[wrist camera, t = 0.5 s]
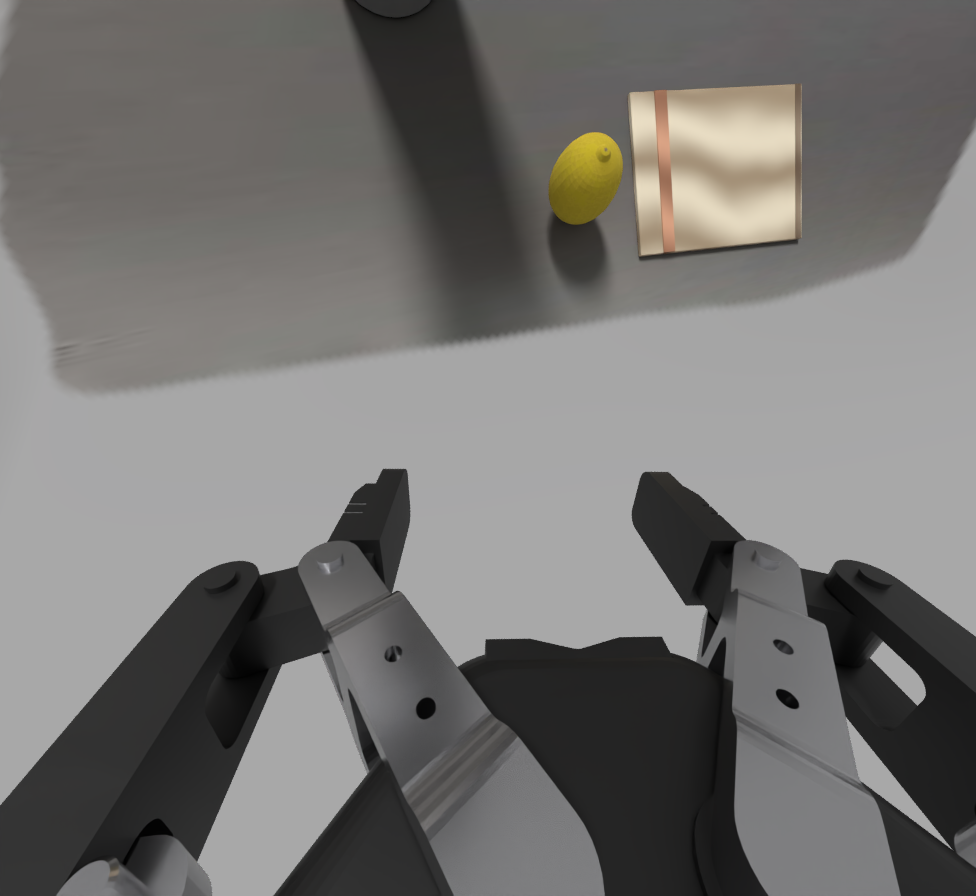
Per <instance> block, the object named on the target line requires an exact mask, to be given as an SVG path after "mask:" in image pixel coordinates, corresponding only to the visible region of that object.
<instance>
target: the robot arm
mask: <svg viewBox="0 0 976 896" xmlns="http://www.w3.org/2000/svg"><path fill="white" fill-rule="evenodd" d="M356 1H357V2H358V3H359V4H360V5H361V6H363V7H365V8H366V9H368V10H370V11H372V12H374V13H377V14H379V15H382V16H386V17H396V18H398V17H404V16H409V15H412V14H414V13H416V12H419V11H420V10H421V9H423V8H424V7H425V6H426V5H428V4H429V2H430V1H431V0H356ZM632 521H633V525H634V527H635V529H636V530H637V532H638V533H639V535H640V536H641V538H642V539H643V541H644V542H645V544H646V545H647V547H648V548H649V550H650V551H651V553H652V554H653V556H654V557H655V559H656V561H657V562H658V564H659V565H660V567H661V568H662V570H663V571H664V573H665V574H666V576H667V577H668V579H669V581H670V582H671V584H672V585H673V587H674V588H675V590H676V591H677V593H678V594H679V596H680V597H681V599H682V600H683V602H684V603H685V605H704V606H705V607H706V608H707V610H706V613H705V615H704V618H703V623H702V629H701V636H700V642H699V648H698V654H697V661H696V662H695V661H692V660H690V659H688V658H685V657H682V656H679V655H676V654H673V653H670V651H669V650H668V648H667V646H666V644H665V642H664V640H663V638H662V637H619V638H616V639H612V640H609V641H606V642H602V643H599V644H596V645H592V646H589V647H586V648H582V649H572V648H568V647H564V646H559V645H555V644H550V643H546V642H542V641H537V640H533V639H489V640H487V639H486V644H485V655H482V656H479V657H476V658H474V659H472V660H470V661H467V662H465V663H463V664H462V665H460V666H458V667H457V666H456V665H455V664H454V662H453V661H452V660H451V658H450V657H449V655H448V654H447V653H446V651H445V650H444V649H443V647H442V646H441V645H440V643H439V642H438V641H437V639H436V638H435V636H434V635H433V634H432V632H431V631H430V630H429V628H428V627H427V626H426V624H425V623H424V622H423V620H422V619H421V617H420V616H419V615H418V613H417V612H416V611H415V609H414V608H413V607H412V605H411V604H410V602H409V601H408V600H407V599H406V597H405V596H404V595H403V594H402V593H401V592H400V591H396V592H394V593H392V591H393V587H394V583H395V579H396V575H397V571H398V567H399V564H400V560H401V556H402V552H403V548H404V544H405V540H406V536H407V532H408V528H409V523H410V500H409V487H408V474H407V470H406V469H383V470H382V472H381V474H380V476H379V478H378V480H377V482H376V484H365V485H364V486H362V487H361V488H360V489H358V490H357V491H356V492H355V493H354V495H353V497H352V498H351V500H350V502H349V505H348V506H347V508H346V509H345V513H343V515H342V516H341V518H340V520H339V522H338V524H337V526H336V527H335V529H334V531H333V533H332V535H331V536H330V539H329V540H328V542H327V543H324V544H321V545H319V546H317V547H315V548H313V549H312V550H310V551H309V552H307V553H306V554H305V555H304V556H303V558H302V559H301V561H300V562H299V565H298V566H296V567H293V568H290V569H285V570H281V571H277V572H272V573H268V574H264V575H260V574H259V571H258V568H257V567H256V565H254V564H253V563H250V562H246V561H234V562H229V563H225V564H221V565H218V566H216V567H213V568H211V569H209V570H207V571H205V572H204V573H202V574H200V575H199V576H197V577H196V578H195V579H194V580H192V581H191V582H190V583H189V584H188V585H187V587H186V588H185V589H184V590H183V591H182V592H181V594H180V595H179V596H178V597H177V598H176V599H175V601H174V602H173V603H172V604H171V605H170V607H169V608H168V609H167V610H166V611H165V612H164V614H163V615H162V616H161V617H160V618H159V619H158V621H157V622H156V623H155V624H154V625H153V627H152V628H151V629H150V630H149V631H148V632H147V634H146V635H145V636H144V637H143V638H142V639H141V641H140V642H139V643H138V644H137V646H136V647H135V648H134V649H133V650H132V651H131V652H130V654H129V655H128V656H127V657H126V658H125V659H124V661H123V662H122V663H121V664H120V665H119V667H118V668H117V669H116V670H115V671H114V672H113V674H112V675H111V676H110V677H109V678H108V679H107V681H106V682H105V683H104V684H103V685H102V687H101V688H100V689H99V690H98V691H97V692H96V694H95V695H94V696H93V697H92V698H91V699H90V701H89V702H88V703H87V704H86V705H85V707H84V708H83V709H82V710H81V711H80V713H79V714H78V715H77V716H76V717H75V718H74V719H73V721H72V722H71V723H70V724H69V725H68V726H67V728H66V729H65V730H64V731H63V733H62V734H61V735H60V736H59V737H58V738H57V740H56V741H55V742H54V743H53V744H52V745H51V746H50V748H49V749H48V750H47V751H46V752H45V754H44V755H43V756H42V757H41V758H40V759H39V761H38V762H37V763H36V764H35V765H34V767H33V768H32V769H31V770H30V771H29V772H28V774H27V775H26V776H25V777H24V778H23V780H22V781H21V782H20V783H19V784H18V785H17V787H16V788H15V789H14V790H13V791H12V793H11V794H10V795H9V796H8V797H7V798H6V800H5V801H4V802H3V803H2V804H1V805H0V896H212V887H211V882H210V879H209V877H208V875H207V874H206V872H205V871H204V870H203V868H202V867H201V866H200V865H199V864H198V863H197V861H198V858H199V856H200V854H201V851H202V849H203V847H204V844H205V842H206V840H207V837H208V835H209V833H210V830H211V828H212V825H213V823H214V821H215V818H216V816H217V814H218V812H219V809H220V807H221V805H222V803H223V800H224V798H225V795H226V793H227V791H228V788H229V786H230V784H231V782H232V779H233V777H234V775H235V772H236V770H237V768H238V765H239V763H240V761H241V758H242V756H243V754H244V751H245V749H246V747H247V744H248V742H249V740H250V738H251V735H252V733H253V731H254V728H255V726H256V723H257V721H258V719H259V717H260V714H261V712H262V710H263V707H264V705H265V703H266V700H267V698H268V696H269V693H270V691H271V689H272V686H273V684H274V682H275V679H276V677H277V675H278V673H279V670H280V668H281V666H282V664H285V663H288V662H291V661H295V660H298V659H301V658H304V657H307V656H310V655H313V654H317V653H321V656H322V658H323V661H324V663H325V665H326V668H327V670H328V673H329V675H330V678H331V680H332V682H333V685H334V687H335V690H336V692H337V695H338V697H339V700H340V702H341V705H342V707H343V710H344V712H345V715H346V717H347V720H348V723H349V726H350V729H351V732H352V735H353V738H354V741H355V744H356V747H357V749H358V752H359V754H360V757H361V759H362V762H363V764H364V767H365V769H366V772H367V776H366V777H365V778H364V780H363V781H362V782H361V783H360V785H359V786H358V787H357V788H356V790H355V791H354V792H353V794H352V795H351V796H350V798H349V799H348V800H347V801H346V803H345V804H344V805H343V807H342V808H341V809H340V810H339V812H338V813H337V814H336V816H335V817H334V818H333V820H332V821H331V822H330V824H329V825H328V826H327V827H326V829H325V830H324V831H323V833H322V834H321V835H320V836H319V838H318V839H317V840H316V842H315V843H314V844H313V845H312V847H311V848H310V849H309V850H308V852H307V853H306V854H305V856H304V857H303V858H302V860H301V861H300V862H299V863H298V865H297V866H296V867H295V869H294V870H293V871H292V872H291V874H290V875H289V876H288V878H287V879H286V880H285V882H284V883H283V884H282V886H281V887H280V888H279V889H278V891H277V892H276V893H275V895H274V896H976V637H975V636H974V635H973V634H971V633H970V632H969V631H967V630H966V629H965V628H963V627H962V626H960V625H959V624H958V623H956V622H955V621H954V620H952V619H951V618H950V617H948V616H947V615H946V614H944V613H943V612H942V611H940V610H939V609H937V608H936V607H935V606H934V605H932V604H931V603H930V602H928V601H927V600H925V599H924V598H923V597H921V596H920V595H919V594H917V593H916V592H915V591H913V590H912V589H910V588H909V587H908V586H907V585H905V584H904V583H903V582H901V581H900V580H898V579H897V578H895V577H894V576H892V575H890V574H889V573H886V572H885V571H883V570H881V569H878V568H876V567H873V566H871V565H868V564H865V563H861V562H858V561H853V560H839V561H837V562H835V564H834V565H833V567H832V569H831V570H830V572H829V574H825V573H821V572H816V571H811V570H806V569H802V568H800V567H799V566H798V564H797V563H796V562H795V561H794V560H793V559H792V558H791V557H790V556H789V555H787V554H786V553H784V552H783V551H781V550H779V549H777V548H775V547H773V546H770V545H768V544H765V543H762V542H758V541H752V540H746V539H745V538H744V537H743V536H741V535H740V534H739V533H738V532H737V531H736V530H735V529H734V528H733V527H732V526H731V525H730V524H729V523H728V522H727V521H726V520H725V519H724V518H723V517H722V516H720V515H718V513H717V512H716V511H715V510H714V509H713V508H712V507H709V504H708V503H707V502H706V501H705V500H704V499H702V498H701V497H700V496H699V495H698V494H696V493H694V492H693V491H691V490H689V489H688V488H686V487H684V486H682V485H681V484H680V483H679V482H678V481H677V480H676V479H675V478H674V477H673V476H672V475H671V474H670V473H668V472H644V473H643V474H642V476H641V478H640V481H639V485H638V489H637V493H636V497H635V501H634V505H633V508H632ZM883 641H884V642H885V643H886V644H887V645H888V646H889V647H890V648H891V649H892V650H893V651H894V652H895V653H896V654H897V655H899V656H900V657H901V658H902V659H903V660H904V661H905V662H906V663H907V664H908V665H909V666H910V667H912V668H913V669H914V670H915V671H916V673H917V674H918V675H919V676H920V678H921V679H922V681H923V683H924V685H925V689H926V696H925V699H924V700H923V701H922V702H921V703H920V704H919V705H918V706H917V705H916V704H915V703H914V702H913V701H912V700H911V699H910V698H909V697H908V696H907V695H906V694H905V693H904V692H903V691H902V690H901V689H900V688H899V687H898V686H897V685H896V684H895V683H894V682H893V681H892V680H891V679H890V678H889V677H888V676H887V675H886V674H885V673H884V672H883V671H882V670H881V669H880V668H879V667H878V666H877V665H876V664H875V663H874V662H873V661H872V660H871V659H870V657H871V655H872V654H873V653H874V652H875V650H876V649H877V648H878V647H879V646H880V644H881V643H882V642H883ZM845 716H846V717H847V719H848V720H849V721H850V722H851V723H852V725H853V726H854V727H855V729H856V730H857V731H858V732H859V734H860V735H861V736H862V737H863V739H864V740H865V741H866V742H867V743H868V745H869V746H870V747H871V749H872V750H873V751H874V752H875V754H876V755H877V756H878V757H879V758H880V760H881V761H882V762H883V764H884V765H885V766H886V767H887V768H888V770H889V771H890V772H891V773H892V775H893V776H894V777H895V778H896V780H897V781H898V782H899V783H900V785H901V786H902V787H903V788H904V790H905V791H906V792H907V793H908V795H909V796H910V797H911V798H912V800H913V801H914V802H915V803H916V805H917V806H918V807H919V808H920V810H921V811H922V812H923V813H924V815H925V816H926V817H927V818H928V820H929V821H930V822H931V823H932V825H933V826H934V827H935V828H936V830H938V832H939V833H940V834H941V836H942V837H943V838H944V839H945V841H946V842H947V843H948V844H949V846H950V847H951V848H952V849H953V850H952V849H950V848H949V847H948V846H946V845H945V844H944V843H942V842H941V841H940V840H938V839H937V838H935V837H934V836H933V835H931V834H930V833H929V832H928V831H926V830H925V829H924V828H922V827H921V826H920V825H918V824H917V823H916V822H914V821H913V820H912V819H910V818H909V817H908V816H906V815H905V814H904V813H902V812H901V811H900V810H898V809H897V808H896V807H894V806H893V805H892V804H890V803H889V802H888V801H886V800H885V799H884V798H882V797H881V796H880V795H878V794H877V793H875V792H874V791H873V790H872V789H870V788H869V787H868V786H866V785H865V784H864V783H862V782H861V781H860V780H859V777H858V773H857V769H856V765H855V759H854V755H853V750H852V746H851V741H850V736H849V731H848V726H847V722H846V717H845Z"/></svg>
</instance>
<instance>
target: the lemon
mask: <svg viewBox="0 0 976 896" xmlns="http://www.w3.org/2000/svg"><path fill="white" fill-rule="evenodd" d="M622 171H623V162H622V155H621V152H620V149H619V148H618V146H617V144H616V143H615V142H614V140H613V139H612V138H610V137H609V136H607V135H605V134H602V133H595V132H593V133H588V134H585V135H582V136H581V137H579V138H577V139H576V140H574V141H573V142H572V143H571V144H570V145H569V146H568V147H567V148H566V149H565V150H564V151H563V153H562V154H561V155H560V157H559V158H558V160H557V162H556V164H555V166H554V168H553V170H552V174H551V178H550V182H549V200H550V205H551V207H552V209H553V211H554V213H555V214H556V215H557V217H558V218H559V219H561V220H562V221H564V222H566V223H568V224H573V225H578V224H585V223H587V222H589V221H591V220H593V219H595V218H596V217H597V216H598V215H600V214H601V213H602V212H603V211H604V210H605V209H606V208H607V206H608V205H609V204H610V202H611V201H612V199H613V198H614V196H615V194H616V192H617V189H618V187H619V184H620V181H621V177H622Z"/></svg>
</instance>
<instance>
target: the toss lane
mask: <svg viewBox="0 0 976 896" xmlns="http://www.w3.org/2000/svg"><path fill="white" fill-rule="evenodd" d="M628 110H629V124H630V138H631V152H632V166H633V181H634V195H635V209H636V223H637V238H638V252H639V257H641V256H650V255H660V254H669V253H678V252H687V251H696V250H705V249H715V248H724V247H733V246H742V245H751V244H760V243H770V242H779V241H788V240H797V239H800V238H801V84H792V85H772V86H752V87H732V88H712V89H692V90H672V91H667V90H655V91H652V92H632V93H629V95H628Z"/></svg>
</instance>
